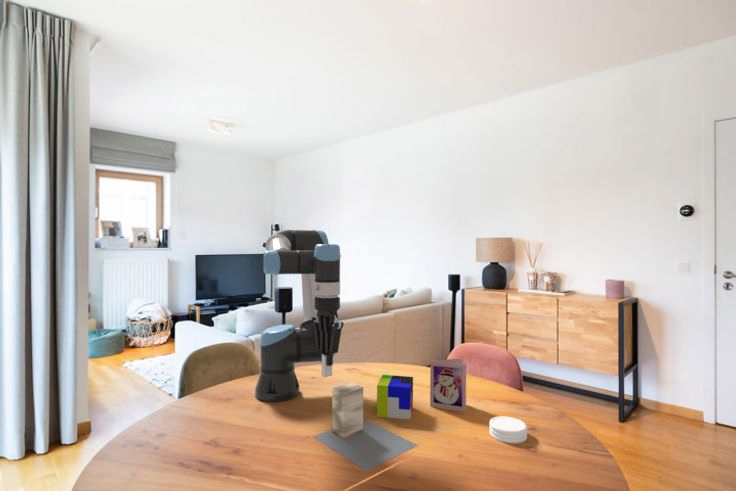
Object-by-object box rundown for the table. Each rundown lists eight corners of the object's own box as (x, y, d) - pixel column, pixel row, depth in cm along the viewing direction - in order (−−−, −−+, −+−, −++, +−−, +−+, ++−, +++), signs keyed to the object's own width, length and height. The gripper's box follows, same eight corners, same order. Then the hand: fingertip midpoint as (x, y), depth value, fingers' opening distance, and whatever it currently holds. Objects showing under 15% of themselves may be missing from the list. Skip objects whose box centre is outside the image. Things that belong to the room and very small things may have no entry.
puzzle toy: (409, 421, 122) (410, 387, 122) (376, 417, 124) (377, 385, 124) (412, 407, 132) (413, 376, 132) (382, 405, 134) (382, 374, 134)
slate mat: (312, 438, 111) (312, 436, 111) (362, 419, 123) (362, 417, 123) (366, 472, 95) (366, 470, 95) (417, 446, 107) (418, 445, 107)
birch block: (332, 432, 114) (332, 388, 114) (351, 424, 118) (351, 382, 118) (343, 438, 110) (343, 393, 110) (363, 430, 115) (363, 387, 115)
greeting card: (429, 407, 132) (429, 361, 132) (434, 399, 139) (435, 355, 139) (465, 413, 128) (465, 365, 128) (468, 404, 135) (469, 359, 135)
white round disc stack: (526, 430, 117) (526, 418, 117) (527, 447, 108) (528, 433, 107) (490, 425, 120) (490, 413, 120) (488, 440, 111) (488, 428, 111)
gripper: (304, 295, 124) (304, 373, 124) (330, 299, 114) (329, 384, 114) (324, 293, 129) (324, 368, 129) (351, 297, 119) (350, 378, 119)
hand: (326, 375), depth 121 cm, fingers closed
